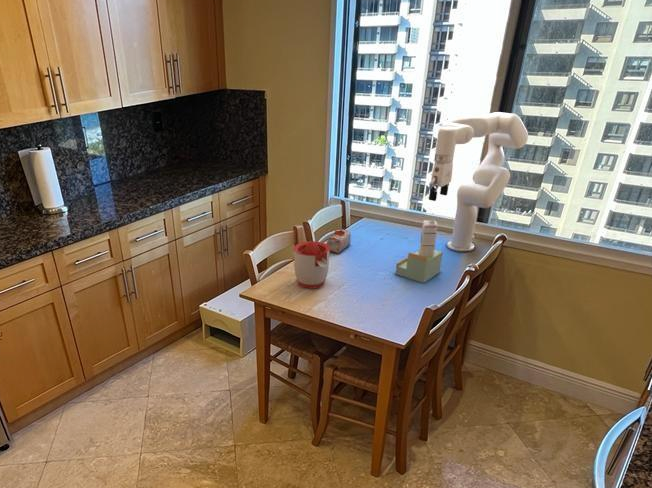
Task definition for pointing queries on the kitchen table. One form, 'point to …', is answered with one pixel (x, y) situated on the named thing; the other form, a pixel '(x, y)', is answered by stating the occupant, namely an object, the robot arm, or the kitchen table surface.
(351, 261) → the kitchen table surface
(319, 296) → the kitchen table surface
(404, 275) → the stepped box
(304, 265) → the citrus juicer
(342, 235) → the food item
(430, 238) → the syrup box
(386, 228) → the kitchen table surface
